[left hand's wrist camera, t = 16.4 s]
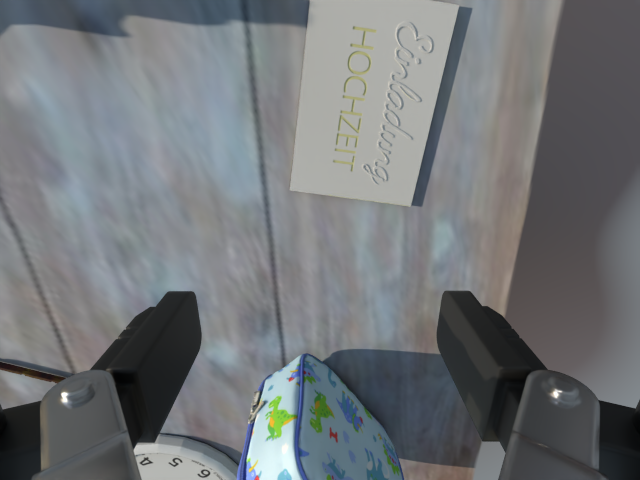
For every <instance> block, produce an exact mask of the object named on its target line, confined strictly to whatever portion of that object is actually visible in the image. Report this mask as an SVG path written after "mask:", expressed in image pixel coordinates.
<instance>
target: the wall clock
mask: <svg viewBox="0 0 640 480" xmlns="http://www.w3.org/2000/svg"><path fill="white" fill-rule="evenodd" d="M134 454H135V457H136V461H137V465H138V468H139V472H140V475H141V479H142V480H237V473H238V467H239V466H238V465H237V464H236V463H235V462H234V461H232V460H231V459H230V458H229V457H228V456H227V455H225V454H224V453H222V452H220V451H218V450H216V449H215V448H213V447H211V446H209V445H207V444H204V443H201V442H198V441H195V440H192V439H189V438H186V437H180V436H172V435H164V434H159V435H158V437H157V439H156V441H155V443H137V445H136V447H135V449H134Z"/></svg>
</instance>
